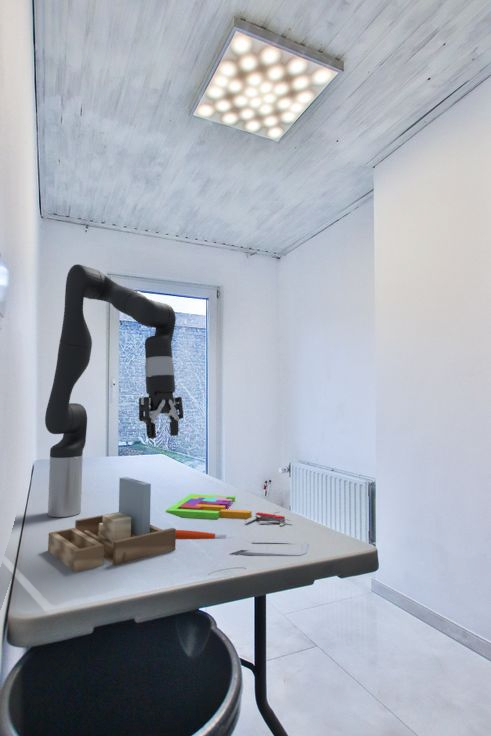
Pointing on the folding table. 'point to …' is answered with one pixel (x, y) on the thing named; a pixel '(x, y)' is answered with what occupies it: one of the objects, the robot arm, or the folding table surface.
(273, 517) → the swiss army knife
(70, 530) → the stand
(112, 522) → the offcut short
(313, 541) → the folding table surface
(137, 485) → the panel
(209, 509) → the toy blocks
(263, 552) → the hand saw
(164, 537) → the rack
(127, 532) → the offcut mid
